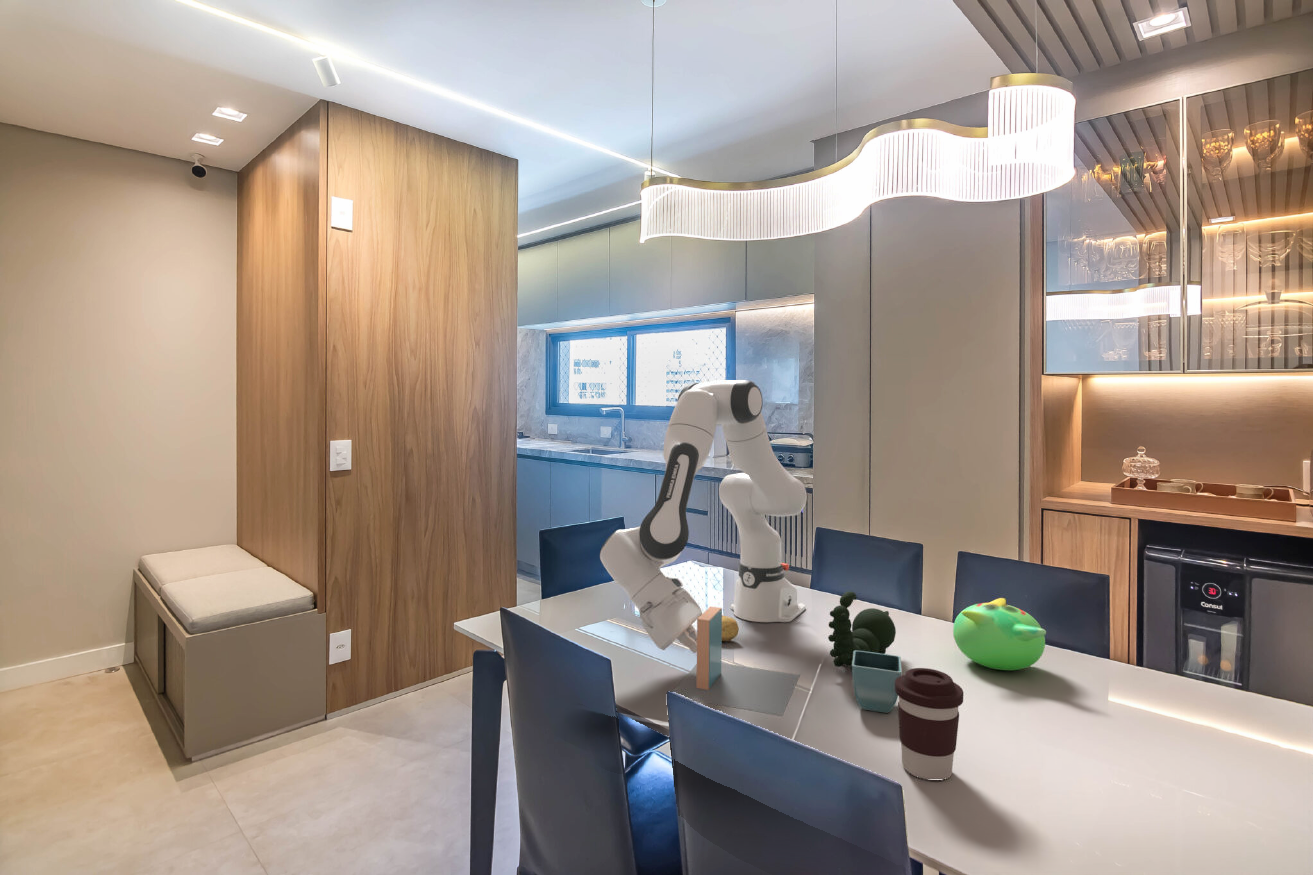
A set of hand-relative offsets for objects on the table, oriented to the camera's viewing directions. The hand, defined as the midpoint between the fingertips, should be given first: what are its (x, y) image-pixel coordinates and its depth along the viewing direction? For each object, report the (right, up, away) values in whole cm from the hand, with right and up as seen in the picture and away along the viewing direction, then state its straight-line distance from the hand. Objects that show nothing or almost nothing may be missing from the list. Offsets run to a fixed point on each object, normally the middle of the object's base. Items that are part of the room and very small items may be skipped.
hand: (699, 648), depth 135 cm
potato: (+6, -6, +25) cm, 27 cm away
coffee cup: (+34, -9, -33) cm, 48 cm away
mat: (+8, -7, -3) cm, 11 cm away
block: (+2, -6, -1) cm, 7 cm away
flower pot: (+33, -8, -11) cm, 36 cm away
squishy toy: (+67, -7, +9) cm, 68 cm away
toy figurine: (+37, -7, +11) cm, 40 cm away
